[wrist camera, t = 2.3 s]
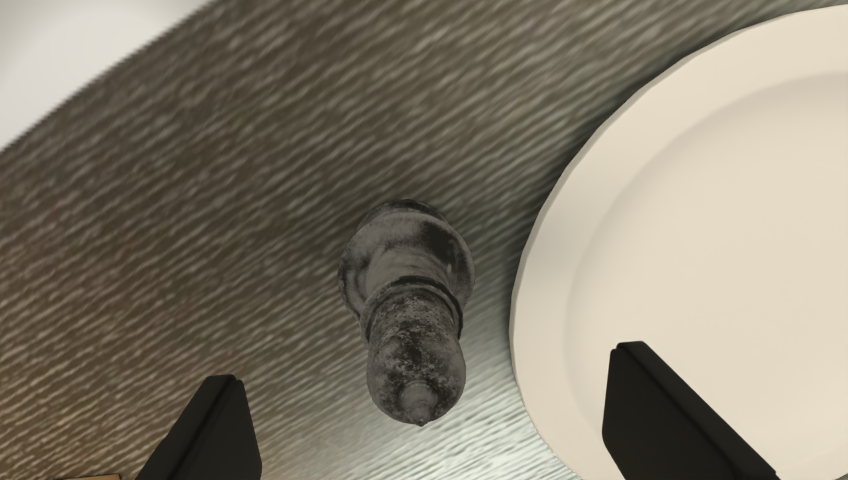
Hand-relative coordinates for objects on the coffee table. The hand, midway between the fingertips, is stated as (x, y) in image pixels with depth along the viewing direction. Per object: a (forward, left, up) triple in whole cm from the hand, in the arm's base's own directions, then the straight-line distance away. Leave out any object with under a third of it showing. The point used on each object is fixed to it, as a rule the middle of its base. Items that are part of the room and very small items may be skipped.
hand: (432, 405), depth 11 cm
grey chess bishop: (0, 0, -12) cm, 12 cm away
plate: (+4, +19, -12) cm, 22 cm away
